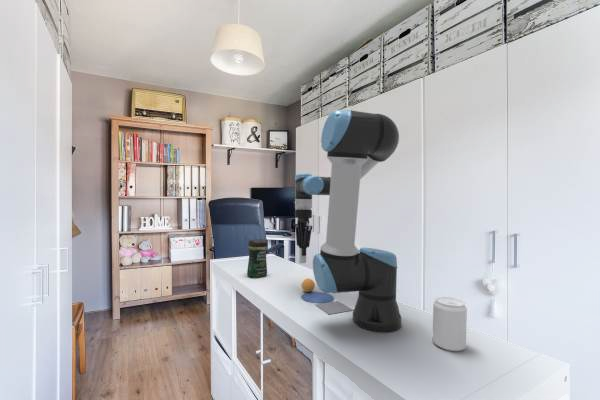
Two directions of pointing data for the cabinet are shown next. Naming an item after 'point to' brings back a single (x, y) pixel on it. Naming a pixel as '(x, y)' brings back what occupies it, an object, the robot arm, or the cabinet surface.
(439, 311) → the beverage can
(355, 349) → the cabinet surface
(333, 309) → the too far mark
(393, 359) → the cabinet surface
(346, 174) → the robot arm
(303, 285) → the ball
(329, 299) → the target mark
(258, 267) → the coffee jar
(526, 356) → the cabinet surface
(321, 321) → the cabinet surface
